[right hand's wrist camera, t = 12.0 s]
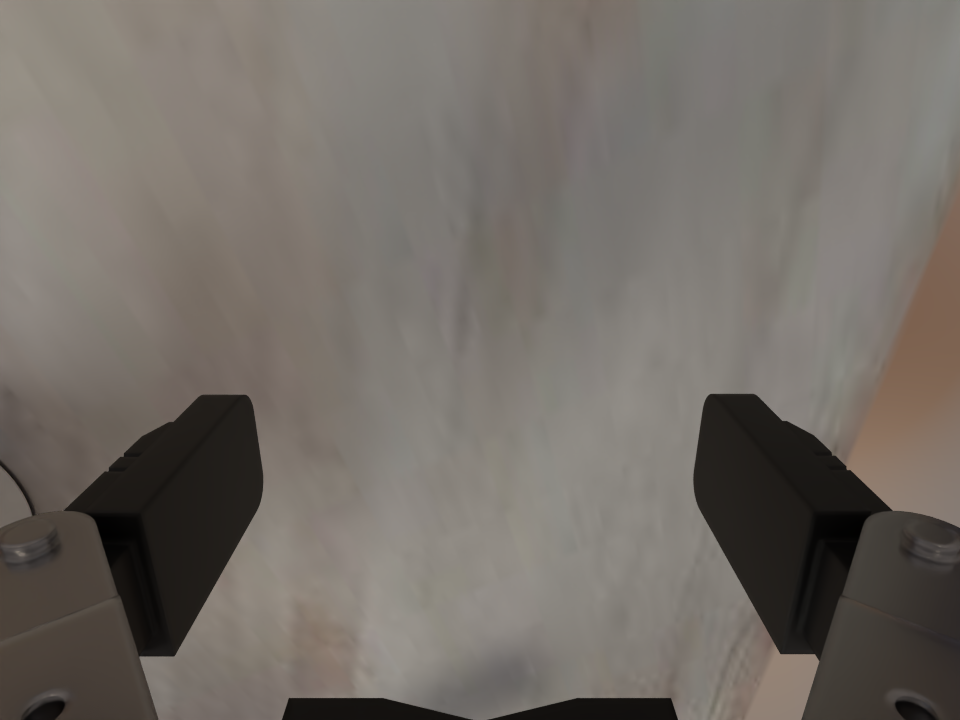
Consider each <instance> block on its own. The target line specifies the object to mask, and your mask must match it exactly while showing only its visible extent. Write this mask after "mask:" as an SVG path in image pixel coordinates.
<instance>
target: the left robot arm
mask: <svg viewBox="0 0 960 720" xmlns="http://www.w3.org/2000/svg"><path fill="white" fill-rule="evenodd" d="M30 516H32V513H31V510H30V507H29V505H28V502H27V500H26V498H25V496H24V495H23V493H22V491H21V490H20V488H19V487H18V485H17V484H16V482H15V481H14V480H13V479H12V477H11V476H10V475H9V474H8V473H7V472H6V471H5V470H4V469H3V468H2V467H1V466H0V528H1V527H3V526H5V525H8V524H10V523H13V522H15V521H18V520H21V519H24V518H27V517H30Z"/></svg>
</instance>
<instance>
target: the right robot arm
mask: <svg viewBox="0 0 960 720" xmlns="http://www.w3.org/2000/svg"><path fill="white" fill-rule="evenodd" d="M693 481H694V493H695V498H696V502H697V505H698V507H699V509H700V511H701V513H702V514H703V516H704V518H705V520H706V522H707V523H708V525H709V527H710V529H711V531H712V532H713V534H714V536H715V538H716V539H717V541H718V543H719V545H720V547H721V548H722V550H723V552H724V554H725V556H726V557H727V559H728V561H729V563H730V565H731V566H732V568H733V570H734V572H735V573H736V575H737V577H738V579H739V581H740V582H741V584H742V586H743V588H744V590H745V591H746V593H747V595H748V597H749V599H750V600H751V602H752V604H753V606H754V607H755V609H756V611H757V613H758V615H759V616H760V618H761V620H762V622H763V624H764V625H765V627H766V629H767V631H768V633H769V634H770V636H771V638H772V640H773V641H774V643H775V645H776V647H777V649H778V650H779V652H780V654H815V655H816V656H817V658H818V660H819V661H820V662H819V665H818V668H817V671H816V674H815V678H814V681H813V684H812V687H811V691H810V694H809V697H808V700H807V703H806V707H805V710H804V713H803V717H802V720H960V528H959V527H957V526H955V525H952V524H950V523H947V522H945V521H942V520H939V519H936V518H933V517H930V516H926V515H922V514H917V513H912V512H904V511H892V510H891V509H890V508H889V507H888V506H887V505H886V504H885V503H884V502H883V501H882V500H881V499H880V498H879V497H878V496H877V495H876V494H875V493H874V492H873V491H872V490H870V489H869V488H868V487H867V486H866V485H865V484H864V483H863V482H862V481H861V480H860V479H859V478H858V477H857V476H856V475H855V474H854V473H853V472H852V471H851V470H847V469H846V466H845V465H844V464H843V463H842V462H841V461H840V460H839V459H838V458H837V457H836V456H832V452H831V451H830V450H829V449H828V448H827V447H825V446H824V445H823V444H822V443H821V442H820V441H819V440H818V439H817V438H816V437H815V436H814V435H812V434H810V433H808V432H806V431H805V430H803V429H801V428H799V427H797V426H795V425H793V424H791V423H790V422H788V421H782V420H781V419H780V418H779V417H778V416H777V415H776V414H775V413H774V412H773V411H772V410H771V409H770V408H769V407H768V406H767V405H766V404H765V403H764V402H763V401H762V400H761V399H760V398H759V397H758V396H757V395H755V394H710V395H709V396H708V397H707V398H706V400H705V403H704V406H703V412H702V419H701V426H700V433H699V440H698V446H697V453H696V460H695V467H694V478H693ZM262 492H263V470H262V463H261V457H260V450H259V443H258V436H257V429H256V422H255V416H254V409H253V405H252V402H251V400H250V398H249V397H248V396H247V395H201V396H199V397H198V398H197V399H196V400H195V401H194V402H193V403H192V404H191V405H190V406H189V407H188V408H187V409H186V410H185V411H184V412H183V413H182V414H181V415H180V416H179V417H178V418H177V419H176V420H175V421H174V422H168V423H167V424H165V425H163V426H161V427H159V428H157V429H155V430H153V431H151V432H150V433H148V434H146V435H144V436H142V437H141V438H140V439H139V440H138V441H137V442H136V443H135V444H133V445H132V446H131V447H130V448H129V449H128V450H127V451H126V452H125V453H124V457H120V458H119V459H118V460H117V461H116V462H114V463H113V464H112V465H111V466H110V467H109V471H108V472H104V473H103V474H102V475H101V476H100V477H99V478H98V479H97V480H95V481H94V482H93V483H92V484H91V485H90V486H89V487H88V488H87V489H86V490H85V491H84V492H83V493H82V494H81V495H80V496H79V497H78V498H76V499H75V500H74V501H73V502H72V503H71V504H70V505H69V506H68V507H67V508H66V509H65V510H64V511H56V512H48V513H43V514H38V515H34V516H30V517H27V518H24V519H21V520H18V521H15V522H13V523H10V524H8V525H5V526H3V527H1V528H0V720H158V716H157V713H156V710H155V707H154V703H153V700H152V697H151V694H150V691H149V687H148V684H147V681H146V678H145V674H144V671H143V668H142V665H141V662H140V658H139V657H140V656H175V655H176V653H177V651H178V649H179V647H180V646H181V644H182V642H183V640H184V639H185V637H186V635H187V633H188V632H189V630H190V628H191V626H192V625H193V623H194V621H195V619H196V617H197V616H198V614H199V612H200V610H201V609H202V607H203V605H204V603H205V602H206V600H207V598H208V596H209V594H210V593H211V591H212V589H213V587H214V586H215V584H216V582H217V580H218V579H219V577H220V575H221V573H222V571H223V570H224V568H225V566H226V564H227V563H228V561H229V559H230V557H231V556H232V554H233V552H234V550H235V549H236V547H237V545H238V543H239V541H240V540H241V538H242V536H243V534H244V533H245V531H246V529H247V527H248V526H249V524H250V522H251V520H252V518H253V517H254V515H255V513H256V511H257V509H258V507H259V505H260V502H261V498H262ZM282 720H471V719H467V718H462V717H458V716H454V715H450V714H446V713H442V712H438V711H434V710H429V709H425V708H421V707H417V706H413V705H409V704H405V703H401V702H396V701H392V700H388V699H384V698H289V700H288V703H287V706H286V709H285V712H284V715H283V718H282ZM489 720H678V718H677V715H676V712H675V709H674V706H673V703H672V700H671V698H576V699H572V700H568V701H564V702H559V703H555V704H551V705H547V706H543V707H539V708H535V709H531V710H526V711H522V712H518V713H514V714H510V715H506V716H502V717H498V718H493V719H489Z"/></svg>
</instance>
